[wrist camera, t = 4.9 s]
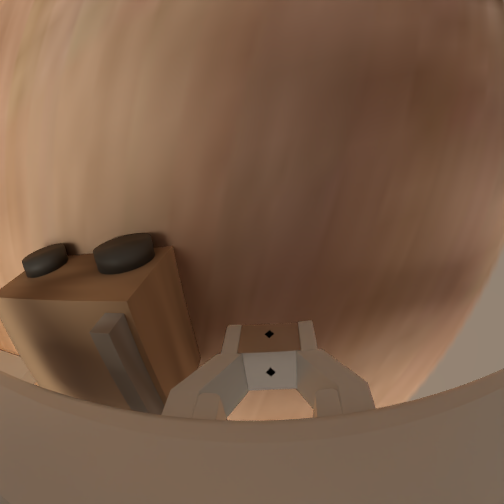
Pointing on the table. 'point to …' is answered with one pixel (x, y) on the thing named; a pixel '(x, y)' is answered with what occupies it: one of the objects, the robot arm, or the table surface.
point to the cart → (103, 323)
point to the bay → (15, 367)
